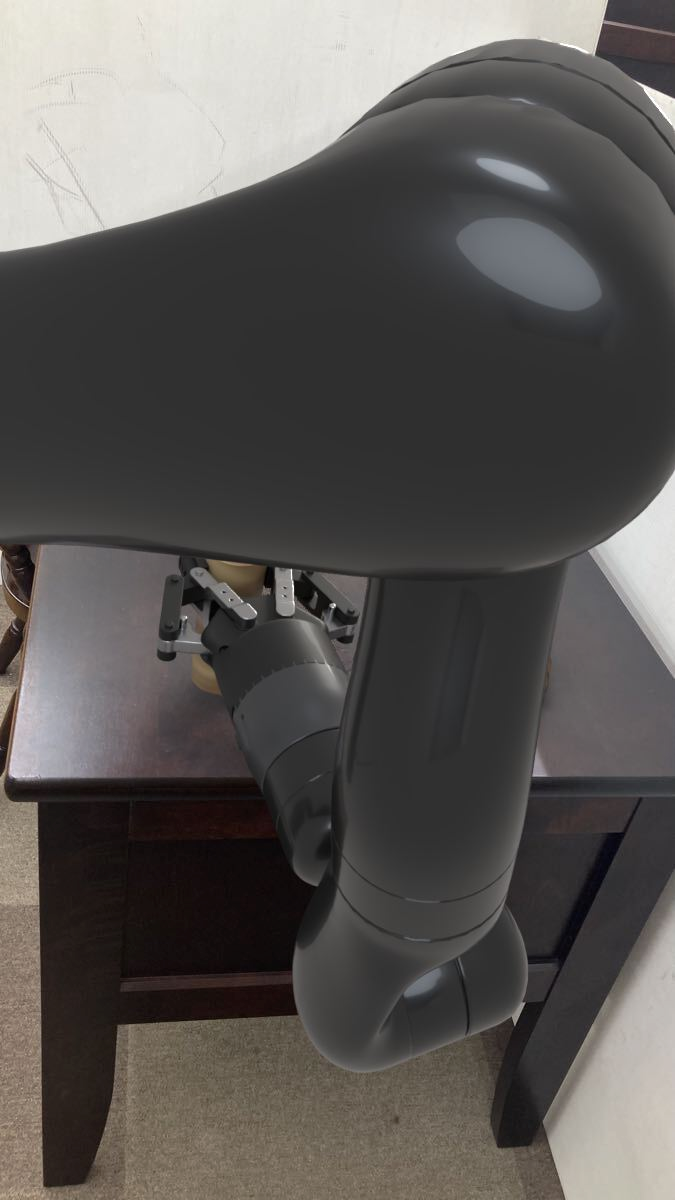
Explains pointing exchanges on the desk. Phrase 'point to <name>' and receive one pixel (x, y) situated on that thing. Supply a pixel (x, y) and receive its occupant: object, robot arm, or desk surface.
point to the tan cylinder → (244, 584)
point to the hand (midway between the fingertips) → (224, 548)
